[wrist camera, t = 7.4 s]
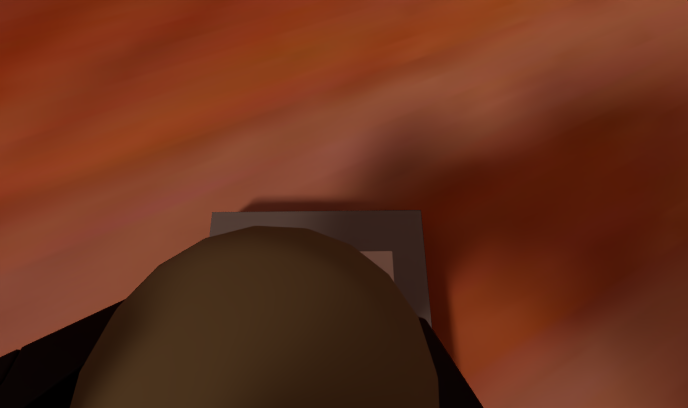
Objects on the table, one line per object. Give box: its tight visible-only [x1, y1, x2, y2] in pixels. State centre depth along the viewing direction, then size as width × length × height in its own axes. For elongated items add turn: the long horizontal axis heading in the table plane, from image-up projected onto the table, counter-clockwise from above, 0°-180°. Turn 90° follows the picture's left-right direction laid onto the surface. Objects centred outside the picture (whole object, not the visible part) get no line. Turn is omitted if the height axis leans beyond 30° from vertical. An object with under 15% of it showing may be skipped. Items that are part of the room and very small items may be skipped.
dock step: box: [210, 210, 432, 328], centre depth 15 cm, size 18×11×2 cm, turn 1°
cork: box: [70, 226, 439, 408], centre depth 9 cm, size 6×6×11 cm
